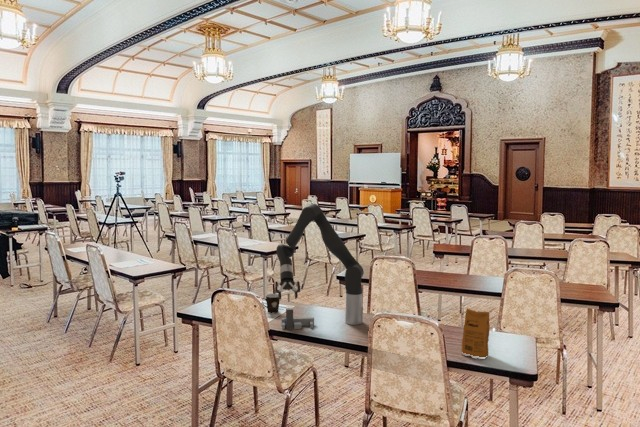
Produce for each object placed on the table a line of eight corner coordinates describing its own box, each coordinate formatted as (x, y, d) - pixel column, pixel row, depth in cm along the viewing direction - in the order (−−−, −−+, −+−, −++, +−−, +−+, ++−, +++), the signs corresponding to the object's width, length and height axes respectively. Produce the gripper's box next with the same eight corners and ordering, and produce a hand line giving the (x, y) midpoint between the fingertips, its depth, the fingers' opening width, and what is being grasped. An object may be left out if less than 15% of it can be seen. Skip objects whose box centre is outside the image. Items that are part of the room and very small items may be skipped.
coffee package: (465, 349, 237) (467, 305, 235) (491, 355, 230) (493, 309, 228) (458, 355, 229) (459, 310, 227) (484, 361, 222) (486, 315, 220)
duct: (313, 324, 273) (313, 316, 272) (315, 328, 266) (315, 320, 265) (281, 325, 270) (281, 317, 270) (282, 329, 263) (282, 321, 263)
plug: (292, 327, 267) (292, 305, 266) (293, 329, 264) (293, 307, 263) (285, 327, 267) (286, 305, 266) (286, 329, 263) (286, 307, 262)
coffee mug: (281, 309, 299) (281, 294, 298) (278, 314, 291) (278, 297, 290) (262, 309, 300) (262, 293, 299) (259, 313, 292) (259, 296, 291)
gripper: (274, 270, 278) (275, 295, 268) (299, 270, 281) (301, 294, 270) (274, 277, 284) (275, 302, 274) (298, 277, 286) (300, 301, 276)
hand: (288, 298), depth 272 cm, fingers open, 8 cm apart
